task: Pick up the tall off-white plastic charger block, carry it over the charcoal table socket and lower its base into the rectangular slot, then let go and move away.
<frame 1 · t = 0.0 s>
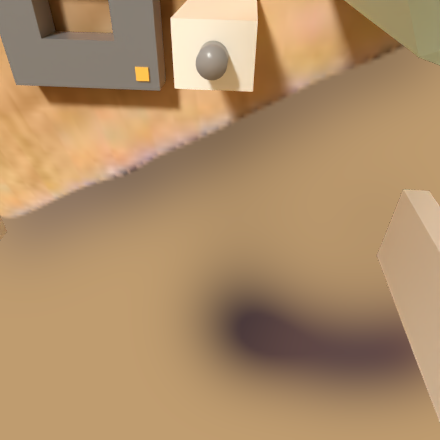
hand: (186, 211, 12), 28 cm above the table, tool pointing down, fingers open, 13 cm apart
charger: (226, 15, 33), on the table
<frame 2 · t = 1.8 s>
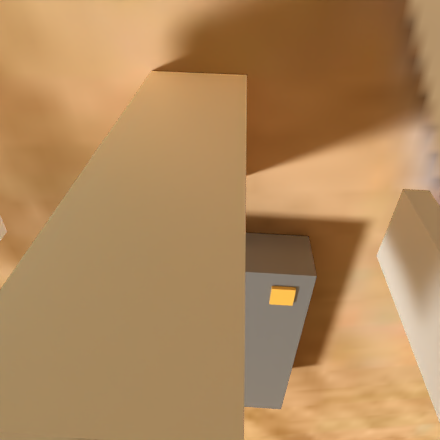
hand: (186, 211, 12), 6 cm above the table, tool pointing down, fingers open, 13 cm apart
socket: (187, 308, 25), on the table
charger: (199, 129, 17), on the table
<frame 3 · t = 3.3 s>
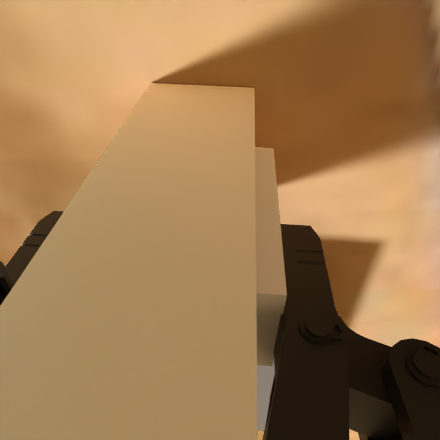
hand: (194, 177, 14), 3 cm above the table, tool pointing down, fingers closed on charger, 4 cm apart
socket: (188, 327, 24), on the table
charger: (202, 144, 16), on the table, touching gripper
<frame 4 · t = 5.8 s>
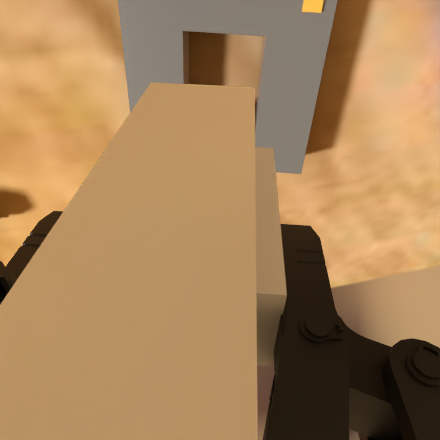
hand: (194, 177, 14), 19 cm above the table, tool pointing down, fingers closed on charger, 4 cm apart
socket: (224, 71, 29), on the table
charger: (202, 144, 16), point 16 cm above the table, touching gripper
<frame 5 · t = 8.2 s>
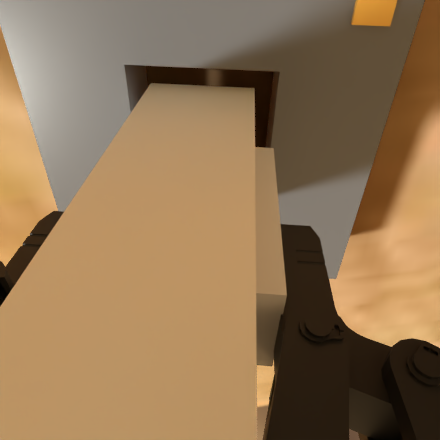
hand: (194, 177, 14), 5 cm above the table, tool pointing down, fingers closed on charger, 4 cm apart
socket: (209, 121, 18), on the table
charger: (202, 144, 16), point 2 cm above the table, touching gripper
when the fingers open (5 cm above the table, at t = 8.4 s): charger drops 2 cm, resting in socket.
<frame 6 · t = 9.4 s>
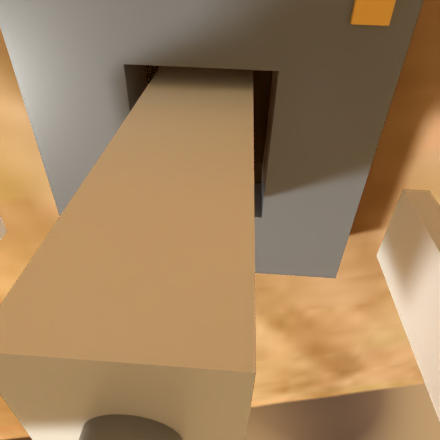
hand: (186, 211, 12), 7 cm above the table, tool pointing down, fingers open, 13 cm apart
socket: (208, 121, 18), on the table
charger: (207, 120, 18), resting in socket
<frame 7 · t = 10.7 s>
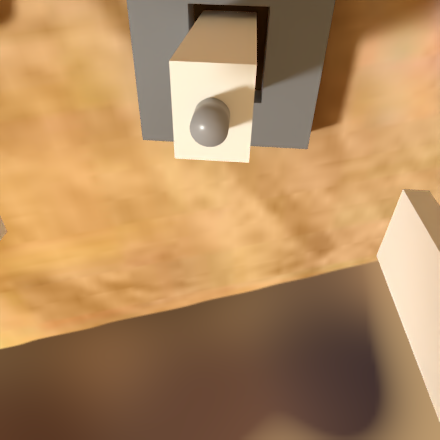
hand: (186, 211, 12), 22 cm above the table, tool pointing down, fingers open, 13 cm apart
socket: (229, 46, 29), on the table
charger: (228, 46, 29), resting in socket
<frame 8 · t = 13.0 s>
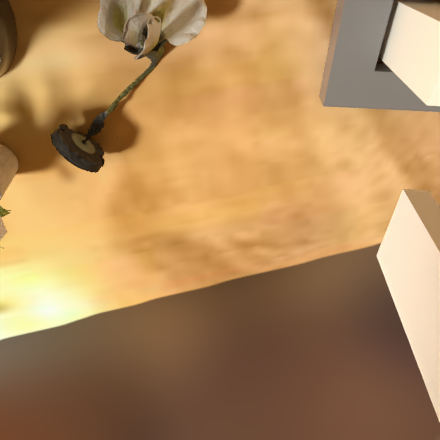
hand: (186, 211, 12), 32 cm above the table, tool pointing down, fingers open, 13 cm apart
artificial flower: (126, 66, 41), on the table
socket: (404, 28, 36), on the table
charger: (404, 28, 36), resting in socket
house plant: (8, 156, 49), on the table
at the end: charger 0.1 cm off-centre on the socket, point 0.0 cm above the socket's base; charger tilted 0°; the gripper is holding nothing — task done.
